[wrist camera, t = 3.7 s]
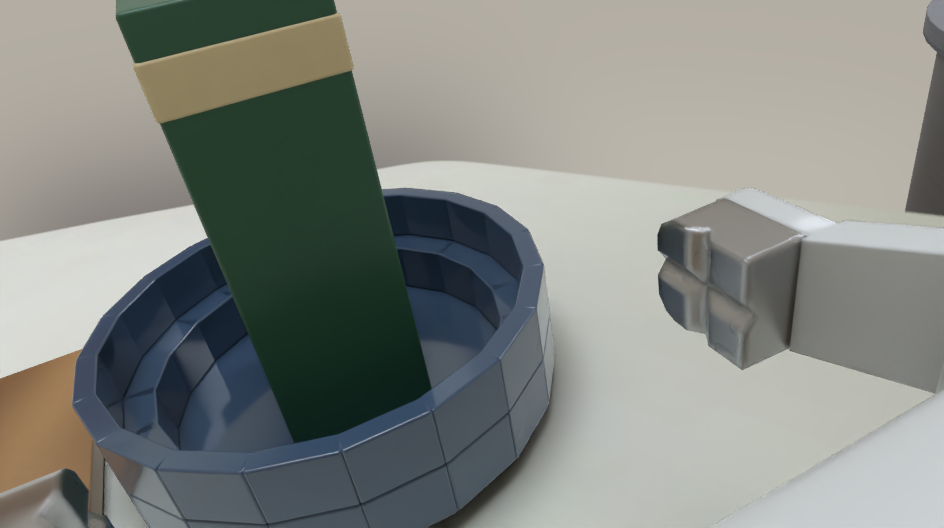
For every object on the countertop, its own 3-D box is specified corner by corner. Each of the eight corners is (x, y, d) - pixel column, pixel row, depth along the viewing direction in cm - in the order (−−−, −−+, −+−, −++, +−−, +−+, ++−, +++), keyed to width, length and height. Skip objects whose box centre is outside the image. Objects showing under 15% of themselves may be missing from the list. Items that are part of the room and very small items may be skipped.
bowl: (451, 242, 29) (434, 156, 27) (646, 434, 18) (643, 316, 16) (131, 362, 25) (82, 273, 23) (143, 693, 14) (54, 582, 12)
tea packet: (374, 309, 24) (271, -49, 18) (440, 409, 19) (329, -35, 13) (264, 353, 23) (112, -15, 17) (303, 471, 18) (110, 15, 12)
